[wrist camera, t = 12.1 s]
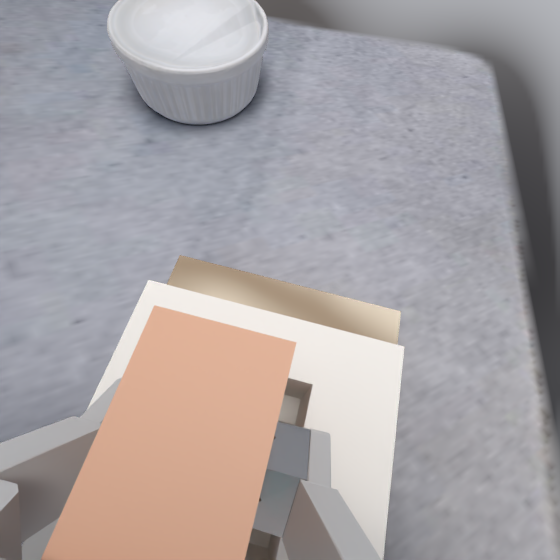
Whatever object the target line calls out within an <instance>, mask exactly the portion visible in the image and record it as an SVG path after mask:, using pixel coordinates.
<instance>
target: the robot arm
mask: <svg viewBox="0 0 560 560" xmlns="http://www.w3.org/2000/svg"><path fill="white" fill-rule="evenodd" d="M121 379H122V378H120V379H117V380H116V381H115V382H114V383H113V384H112V385H111V386H110V387H109V388H108V389H107V390H106V391H105V392H104V393H103V394H102V395H101V396H100V397H99V398H98V399H97V400H96V401H95V402H94V403H93V404H92V405H91V406H90V407H89V408H88V409H87V410H86V411H85V412H84V413H83V414H82V415H81V416H80V417H75V416H72V417H69V418H67V419H64V420H61V421H58V422H56V423H53V424H50V425H48V426H45V427H42V428H39V429H37V430H34V431H31V432H29V433H26V434H23V435H20V436H18V437H15V438H12V439H10V440H7V441H4V442H1V443H0V560H22V546H21V543H22V542H23V541H25V540H26V539H28V538H29V537H31V536H32V535H34V534H35V533H37V532H38V531H40V530H41V529H43V528H44V527H46V526H47V525H49V524H50V523H52V522H53V521H55V520H56V519H58V518H59V517H60V515H61V513H62V511H63V508H64V506H65V504H66V502H67V499H68V497H69V495H70V493H71V491H72V488H73V486H74V484H75V482H76V479H77V477H78V475H79V473H80V470H81V468H82V466H83V464H84V461H85V459H86V457H87V455H88V452H89V450H90V448H91V446H92V444H93V441H94V439H95V437H96V435H97V432H98V430H99V428H100V426H101V423H102V421H103V419H104V417H105V414H106V412H107V410H108V408H109V405H110V403H111V401H112V399H113V397H114V394H115V392H116V390H117V388H118V385H119V383H120V381H121ZM252 528H254V529H257V530H260V531H263V532H266V533H269V534H272V535H275V536H278V537H282V541H283V544H284V547H285V550H286V553H287V556H288V559H289V560H381V558H380V557H379V555H378V554H377V552H376V550H375V549H374V547H373V546H372V544H371V542H370V541H369V539H368V538H367V536H366V534H365V533H364V531H363V530H362V528H361V527H360V525H359V523H358V522H357V520H356V519H355V517H354V515H353V514H352V512H351V511H350V509H349V507H348V506H347V504H346V503H345V501H344V500H343V498H342V496H341V495H340V493H339V492H338V490H337V489H333V488H331V436H330V434H329V433H327V432H323V431H319V430H315V429H311V428H310V429H309V428H306V427H302V426H298V425H294V424H290V423H287V422H283V421H279V420H278V422H277V426H276V431H275V435H274V439H273V443H272V448H271V452H270V456H269V460H268V464H267V469H266V473H265V477H264V481H263V485H262V490H261V494H260V498H259V502H258V506H257V511H256V515H255V519H254V523H253V527H252Z"/></svg>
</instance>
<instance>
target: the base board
mask: <svg viewBox="0 0 560 560" xmlns="http://www.w3.org/2000/svg"><path fill="white" fill-rule="evenodd" d="M167 285H170V286H174V287H178V288H182V289H186V290H189V291H193V292H197V293H201V294H205V295H209V296H212V297H216V298H220V299H224V300H228V301H232V302H235V303H239V304H243V305H247V306H251V307H255V308H258V309H262V310H266V311H270V312H274V313H278V314H281V315H285V316H289V317H293V318H297V319H301V320H304V321H308V322H312V323H316V324H320V325H324V326H327V327H331V328H335V329H339V330H343V331H347V332H350V333H354V334H358V335H362V336H366V337H370V338H373V339H377V340H381V341H385V342H389V343H393V344H396V345H397V343H398V333H399V324H400V315H401V311H397V310H393V309H390V308H386V307H382V306H378V305H374V304H370V303H366V302H362V301H358V300H354V299H350V298H346V297H342V296H338V295H335V294H331V293H327V292H323V291H319V290H315V289H311V288H307V287H303V286H299V285H295V284H291V283H287V282H283V281H280V280H276V279H272V278H268V277H264V276H260V275H256V274H252V273H248V272H244V271H240V270H236V269H232V268H228V267H225V266H221V265H217V264H213V263H209V262H205V261H201V260H197V259H193V258H189V257H185V256H181V255H180V256H179V258H178V261H177V263H176V265H175V267H174V269H173V272H172V274H171V276H170V278H169V281H168V283H167Z"/></svg>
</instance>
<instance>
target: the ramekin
mask: <svg viewBox="0 0 560 560" xmlns="http://www.w3.org/2000/svg"><path fill="white" fill-rule="evenodd" d="M107 30H108V34H109V38H110V41H111V44H112V46H113V48H114V50H115V52H116V54H117V55H118V57H119V58H120V59H121V60H122V61H123V63H124V65H125V67H126V69H127V71H128V73H129V75H130V77H131V78H132V80H133V82H134V84H135V86H136V88H137V90H138V92H139V94H140V95H141V97H142V99H143V100H144V101H145V102H146V103H147V105H148V106H149V107H151V108H152V109H153V110H154V111H156V112H158V113H160V114H161V115H163V116H164V117H166V118H169V119H171V120H173V121H177V122H180V123H186V124H211V123H216V122H220V121H223V120H226V119H228V118H231V117H233V116H234V115H236V114H238V113H239V112H240V111H241V110H243V109H244V108H245V107H246V106H247V105H248V103H249V102H250V101H251V100H252V98H253V96H254V95H255V93H256V90H257V86H258V82H259V76H260V71H261V65H262V60H263V54H264V52H265V50H266V47H267V43H268V31H269V28H268V21H267V17H266V14H265V13H264V11H263V9H262V8H261V6H260V5H259V4H258V3H257V2H256V1H255V0H119V1H118V2H116V4H115V5H114V6H113V7H112V9H111V10H110V13H109V16H108V22H107Z"/></svg>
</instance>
